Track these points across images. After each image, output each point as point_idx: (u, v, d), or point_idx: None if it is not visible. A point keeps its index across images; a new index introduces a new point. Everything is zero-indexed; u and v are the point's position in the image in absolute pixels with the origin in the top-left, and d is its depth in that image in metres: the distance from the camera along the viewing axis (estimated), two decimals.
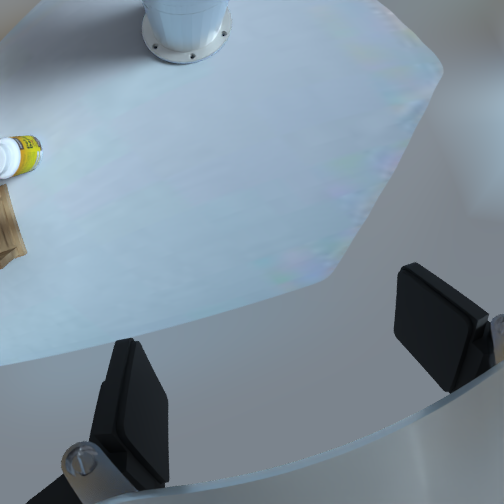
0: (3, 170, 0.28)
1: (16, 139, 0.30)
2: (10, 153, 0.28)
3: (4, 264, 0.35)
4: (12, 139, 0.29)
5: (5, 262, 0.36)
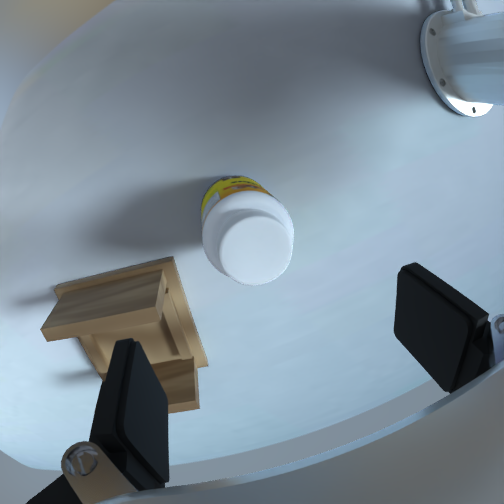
0: (278, 275, 0.17)
1: (275, 198, 0.19)
2: None
3: (198, 399, 0.25)
4: (276, 200, 0.18)
5: (197, 394, 0.26)
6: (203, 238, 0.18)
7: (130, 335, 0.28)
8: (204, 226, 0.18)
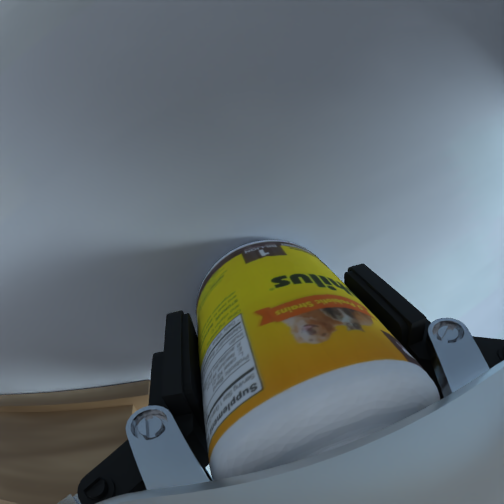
0: None
1: (405, 350, 0.06)
2: None
3: None
4: (423, 373, 0.05)
5: None
6: None
7: None
8: (216, 463, 0.05)
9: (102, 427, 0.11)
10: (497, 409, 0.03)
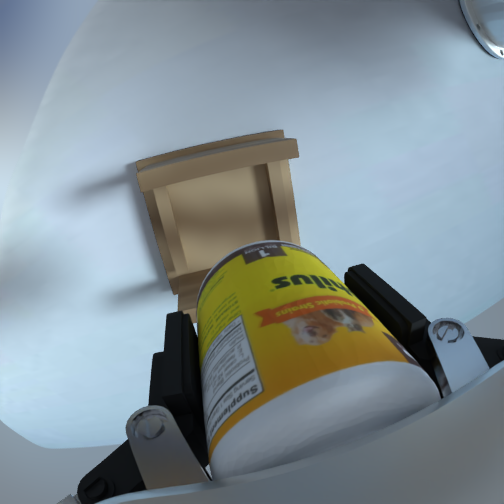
0: None
1: (406, 351, 0.06)
2: None
3: None
4: (424, 375, 0.05)
5: None
6: None
7: (222, 220, 0.26)
8: (217, 465, 0.05)
9: (257, 140, 0.23)
10: (497, 409, 0.03)
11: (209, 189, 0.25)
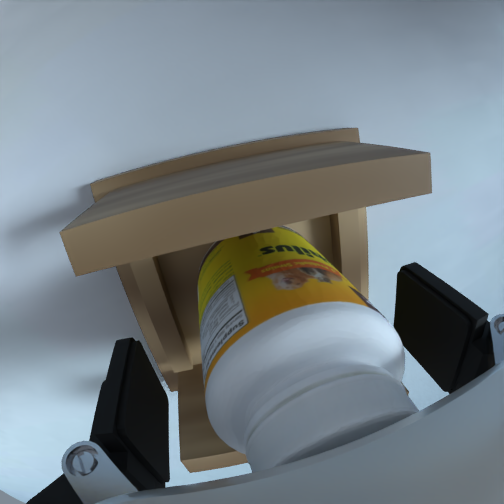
0: None
1: (370, 303, 0.08)
2: None
3: None
4: (383, 319, 0.07)
5: None
6: (209, 412, 0.07)
7: None
8: (210, 390, 0.07)
9: (322, 146, 0.12)
10: (497, 409, 0.03)
11: None
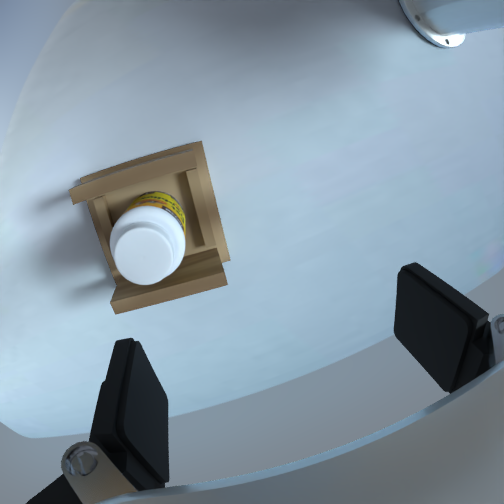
0: (164, 276, 0.20)
1: (168, 210, 0.22)
2: (170, 241, 0.21)
3: None
4: (166, 212, 0.21)
5: None
6: (110, 247, 0.21)
7: None
8: (110, 237, 0.21)
9: (175, 153, 0.26)
10: (497, 409, 0.03)
11: None
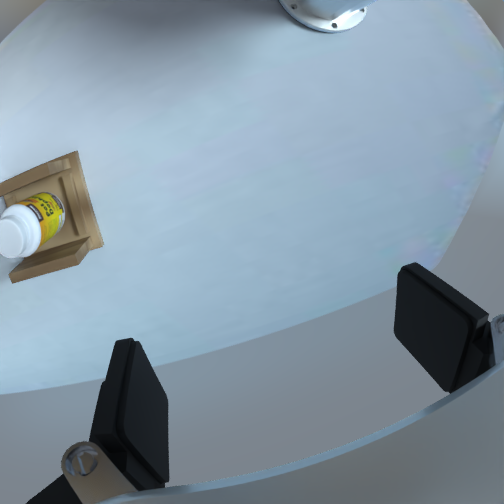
0: (20, 253, 0.23)
1: (32, 207, 0.25)
2: (27, 228, 0.24)
3: (80, 259, 0.30)
4: (27, 208, 0.24)
5: (81, 255, 0.30)
6: None
7: None
8: None
9: None
10: (497, 409, 0.03)
11: None
